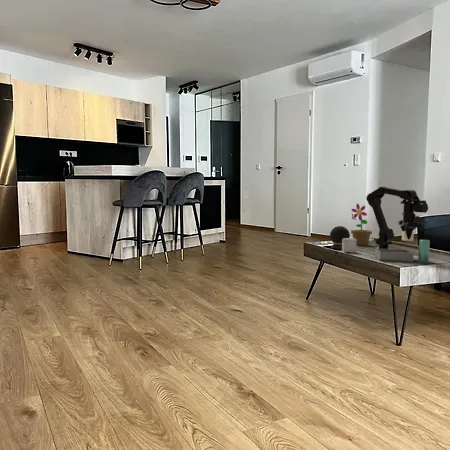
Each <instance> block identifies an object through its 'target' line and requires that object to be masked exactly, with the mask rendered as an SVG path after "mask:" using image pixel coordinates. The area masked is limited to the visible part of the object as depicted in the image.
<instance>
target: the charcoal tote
mask: <svg viewBox="0 0 450 450" xmlns="http://www.w3.org/2000/svg"><path fill="white" fill-rule="evenodd" d="M374 253H375V255H374V257H375V258H376V259H377V260H378V261H379V262H405V263H408V262H409V263H414V252H413V251H410V250H409V249H401V248H397V249H396V248H389V249H379V248H375V252H374Z"/></svg>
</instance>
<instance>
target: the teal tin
mask: <svg viewBox="0 0 450 450" xmlns="http://www.w3.org/2000/svg"><path fill="white" fill-rule="evenodd" d="M430 241H431V240H430V239H419V240H418V258H417V263H418V264H419V265H420V264H421V265H429V264H428V263H430V245H431V243H430Z"/></svg>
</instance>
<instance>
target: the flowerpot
mask: <svg viewBox="0 0 450 450" xmlns="http://www.w3.org/2000/svg"><path fill="white" fill-rule="evenodd" d="M360 206H361V205H360V204H359V203H356V206H355V207H356V208H351V212H352V213H354V214H353V215H352V218H353V219H357V217H358V220H359V221H360V223H358V224H356V225H355V227H357V228H360V229H353V230H350V234H352V238H354V239H356V240H357V241H356V246H357V245H359V246H360V247H363V246H364V247H366V246H367V245H368V246H369V245H370V240H371V239H370V238H371V235H373V231H372V230H368V229H363V225H366V224H368V223H369V222H368V221H367V220H366V219H363V217H362V216H367V215H368V214H367V212H365V211H364V210H365V209H366V205H363V206H361V207H360ZM359 246H358V247H359Z"/></svg>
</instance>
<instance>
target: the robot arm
mask: <svg viewBox="0 0 450 450" xmlns="http://www.w3.org/2000/svg"><path fill="white" fill-rule="evenodd" d="M385 195H391V196H395V197H398V198H400V199H402V201H400V205H401V204H402V205H403V210H402V213H401V214H402V219H400V220H398V222H397V223H398V225H399V227H400V229H401V232H402V231H405V232H406V235H407V238H408V239H410V237H411V234H412V232H414V230H416V229H417V228H419V225H424V223H425V219H424V218H421V216H418V215H416V213H423V214H425V213H427V212H428V210H429V205H428V203H427V200H421V199H420V197H419V196H418V193H417V192H416V190H414V189H403V190H402V189H397V188H392V187H387V186H379V187H378V188H377V189H375V190H373V191H372V192H370V193H368V194H367V195H366V197H365V198H366V199H365V200H366V201H367V203H368V205H369V206H370V207H371V208H372V212H373V213H374V217H375V220H376V223H377V225H378V228H379V232H378V238H377V239H375V244H376V245H378V249H390V246H389V245H392V243H393V241H394V240H395V233H394V229H392V228H389V226H388V224H387V221H386V218H385V215H384V212H383V210H382V209H383V208H382V206H381V204H382V198H383V197H385Z"/></svg>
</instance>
